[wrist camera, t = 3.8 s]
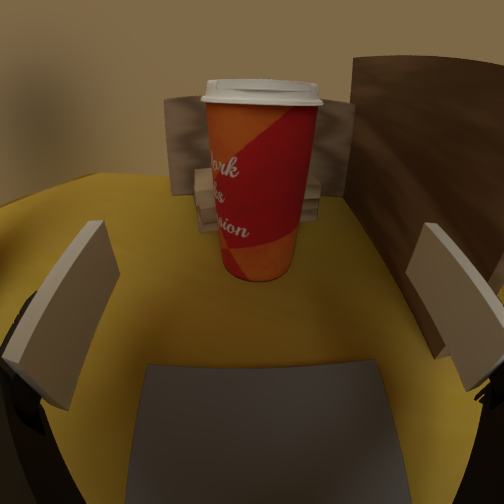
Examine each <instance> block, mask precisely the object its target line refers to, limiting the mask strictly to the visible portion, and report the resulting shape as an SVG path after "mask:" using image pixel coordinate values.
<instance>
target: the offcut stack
mask: <svg viewBox="0 0 504 504" xmlns="http://www.w3.org/2000/svg"><path fill="white" fill-rule="evenodd" d="M321 186H322V184H321V183H320V182H319V181H318V180H316V179H315V178H314V177H313V176H312V175H311V174H310V173H309V172H308V177H307V183H306V189H305V195H304V200H303V206H302V211H301V217H300V222H306V221H316V219H317V213H318V210H317V209H316V208H318V204H319V198H320V193H321ZM193 195H194V200H195V203H196V208H197V215H198V222H199V229H200V233H203V232H212V231H219V229H218V221H217V213H216V204H215V196H214V187H213V177H212V168H205V169H195V185H193Z"/></svg>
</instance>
